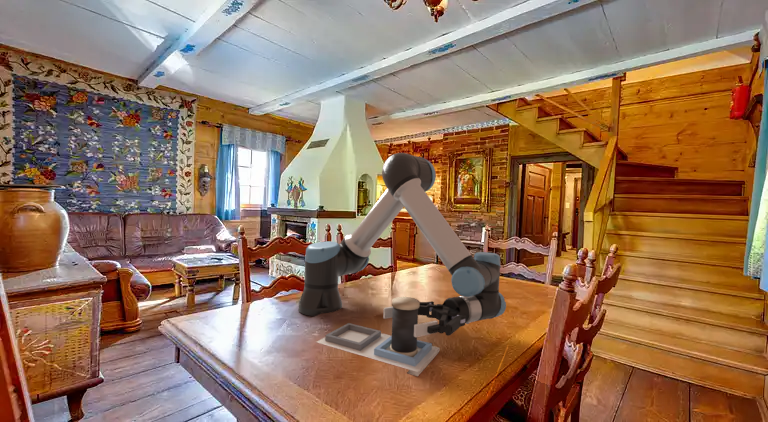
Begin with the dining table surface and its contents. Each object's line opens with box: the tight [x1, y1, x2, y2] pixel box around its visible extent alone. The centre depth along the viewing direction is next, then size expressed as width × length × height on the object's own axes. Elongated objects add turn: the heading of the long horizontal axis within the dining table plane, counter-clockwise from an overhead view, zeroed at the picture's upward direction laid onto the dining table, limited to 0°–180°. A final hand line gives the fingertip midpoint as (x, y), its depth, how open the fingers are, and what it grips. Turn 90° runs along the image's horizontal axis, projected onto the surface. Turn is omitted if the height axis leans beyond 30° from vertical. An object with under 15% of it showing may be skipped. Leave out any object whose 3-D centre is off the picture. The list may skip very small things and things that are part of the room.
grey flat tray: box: [315, 322, 441, 377], centre depth 89 cm, size 29×15×2 cm, turn 62°
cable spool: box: [390, 296, 421, 357], centre depth 85 cm, size 7×7×13 cm
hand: (398, 321), depth 84 cm, fingers open, 13 cm apart
